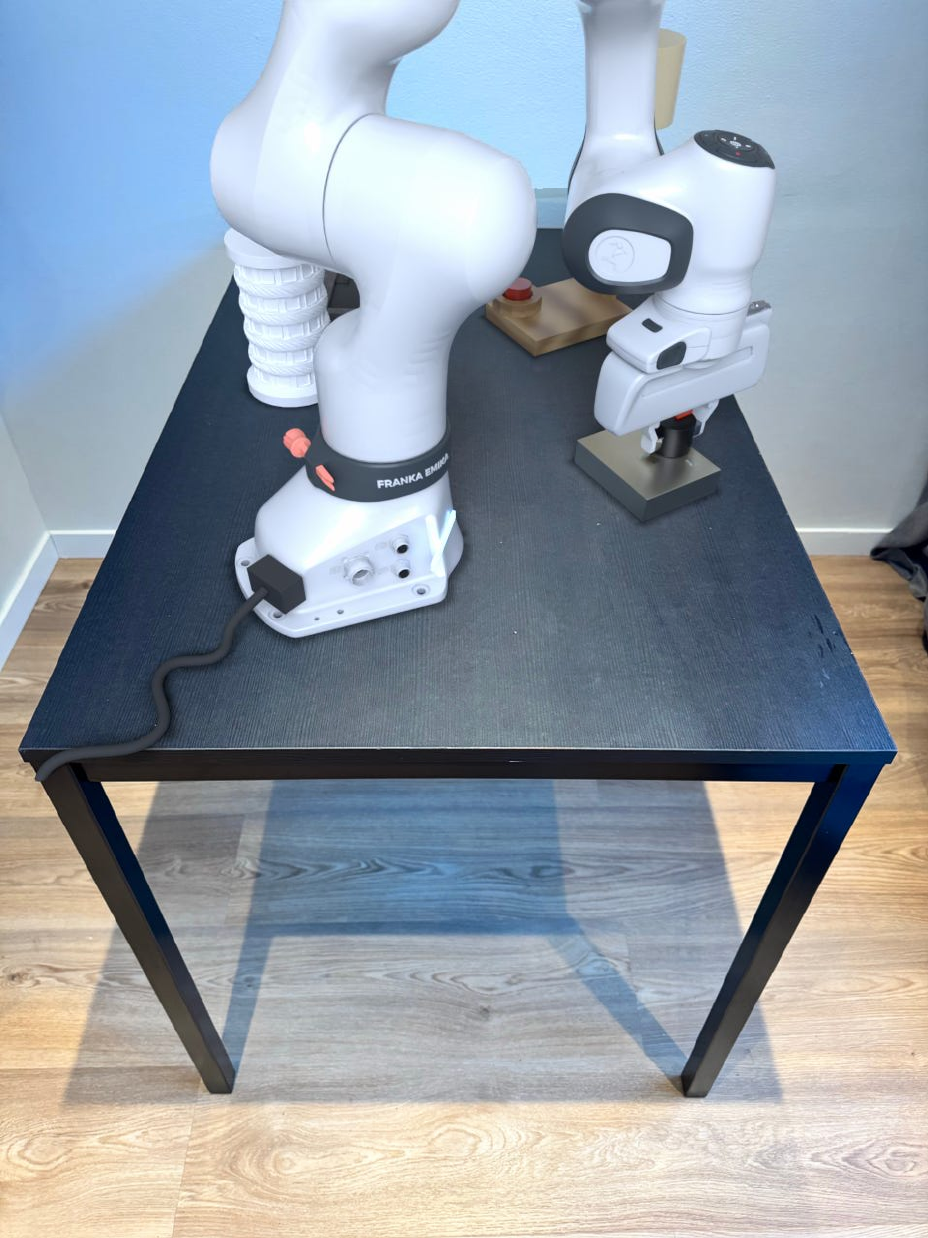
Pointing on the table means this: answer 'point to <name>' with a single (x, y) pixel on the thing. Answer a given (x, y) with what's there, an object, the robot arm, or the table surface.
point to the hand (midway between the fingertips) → (671, 440)
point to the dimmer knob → (677, 434)
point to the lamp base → (555, 316)
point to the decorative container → (279, 320)
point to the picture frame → (340, 294)
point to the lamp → (666, 81)
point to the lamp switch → (519, 290)
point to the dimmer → (645, 473)
